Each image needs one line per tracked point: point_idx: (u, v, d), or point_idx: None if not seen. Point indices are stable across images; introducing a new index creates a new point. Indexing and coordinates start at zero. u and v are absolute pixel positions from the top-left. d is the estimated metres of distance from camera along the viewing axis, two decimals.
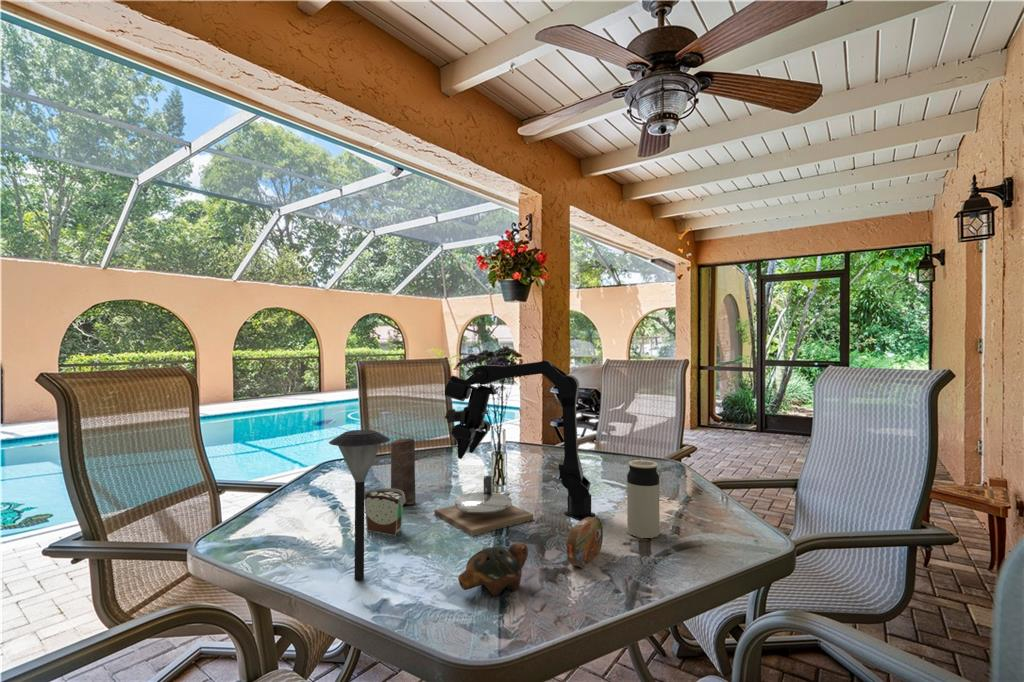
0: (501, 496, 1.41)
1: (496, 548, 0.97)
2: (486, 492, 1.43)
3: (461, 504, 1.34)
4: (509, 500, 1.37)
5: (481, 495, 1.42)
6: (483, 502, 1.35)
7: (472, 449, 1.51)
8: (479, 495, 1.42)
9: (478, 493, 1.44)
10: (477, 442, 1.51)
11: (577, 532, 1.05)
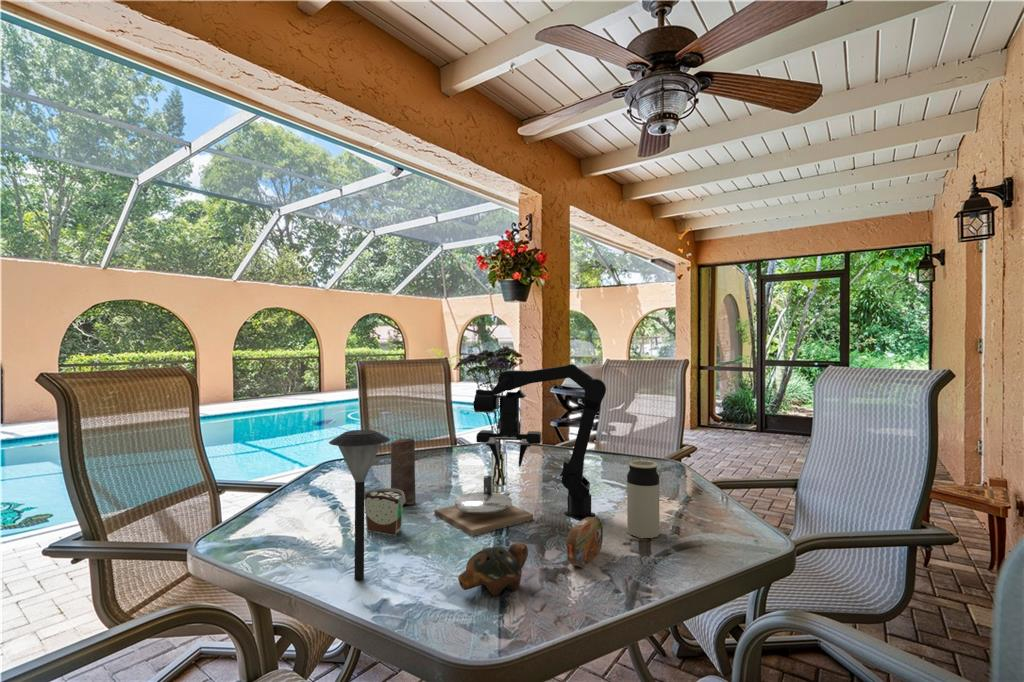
0: (501, 496, 1.41)
1: (496, 548, 0.97)
2: (486, 492, 1.43)
3: (461, 504, 1.34)
4: (509, 500, 1.37)
5: (481, 495, 1.42)
6: (483, 502, 1.35)
7: (519, 462, 1.42)
8: (479, 495, 1.42)
9: (478, 493, 1.44)
10: None
11: (577, 532, 1.05)
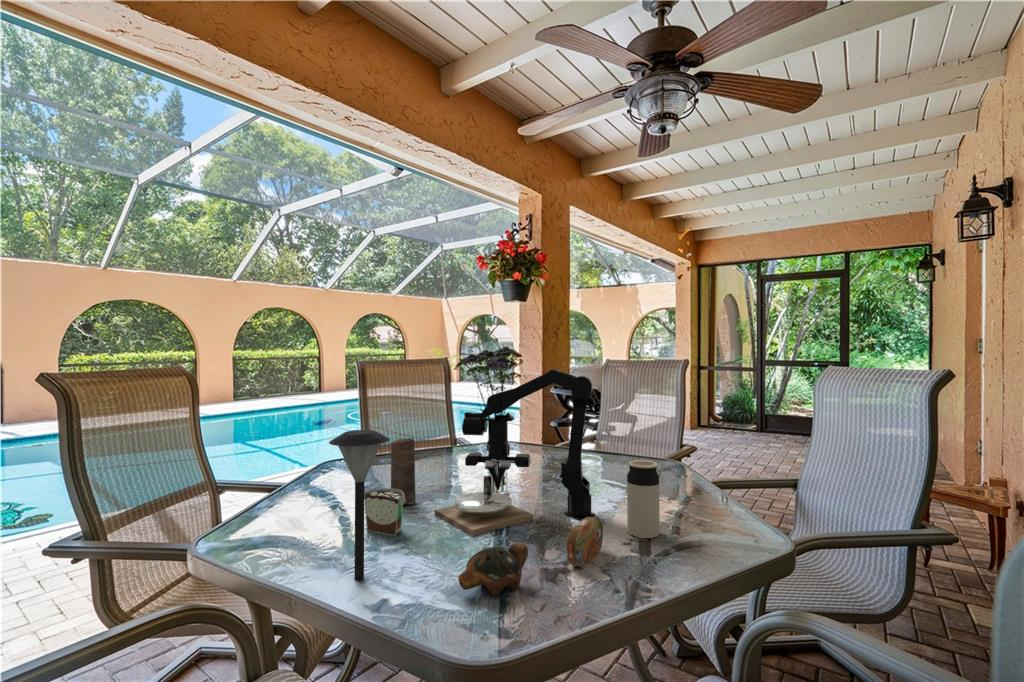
0: (501, 496, 1.41)
1: (496, 548, 0.97)
2: (486, 492, 1.43)
3: (461, 504, 1.34)
4: (509, 500, 1.37)
5: (481, 495, 1.42)
6: (483, 502, 1.35)
7: None
8: (479, 495, 1.42)
9: (478, 493, 1.44)
10: (498, 477, 1.42)
11: (577, 532, 1.05)
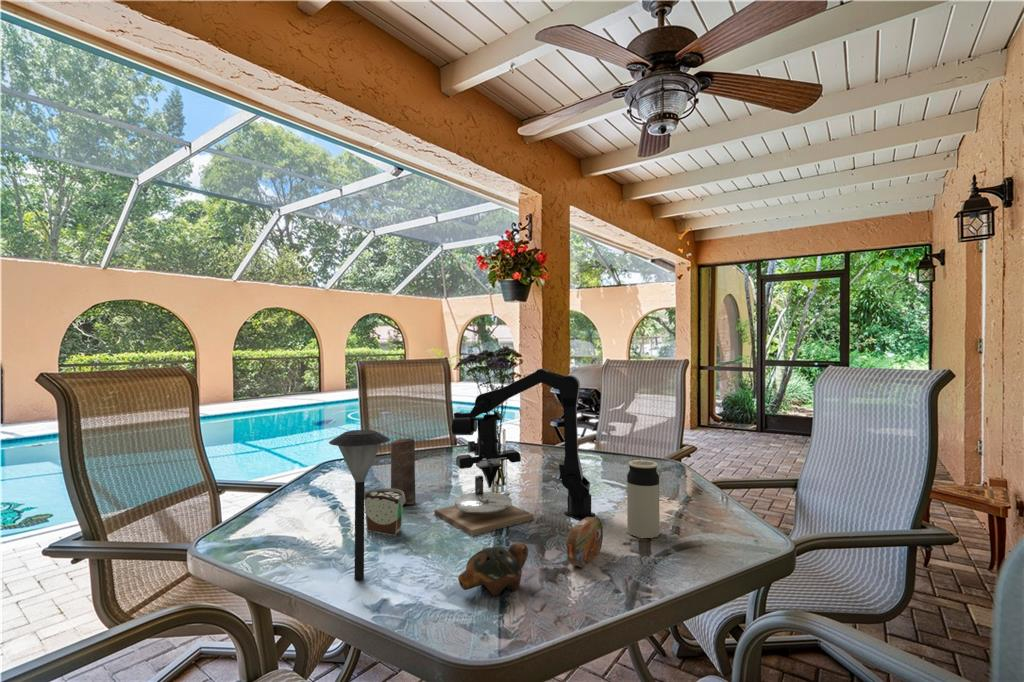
0: (495, 494, 1.43)
1: (496, 548, 0.97)
2: (479, 492, 1.43)
3: (467, 506, 1.32)
4: (508, 497, 1.40)
5: (475, 496, 1.41)
6: (486, 502, 1.36)
7: None
8: (473, 496, 1.41)
9: (470, 494, 1.43)
10: None
11: (577, 532, 1.05)
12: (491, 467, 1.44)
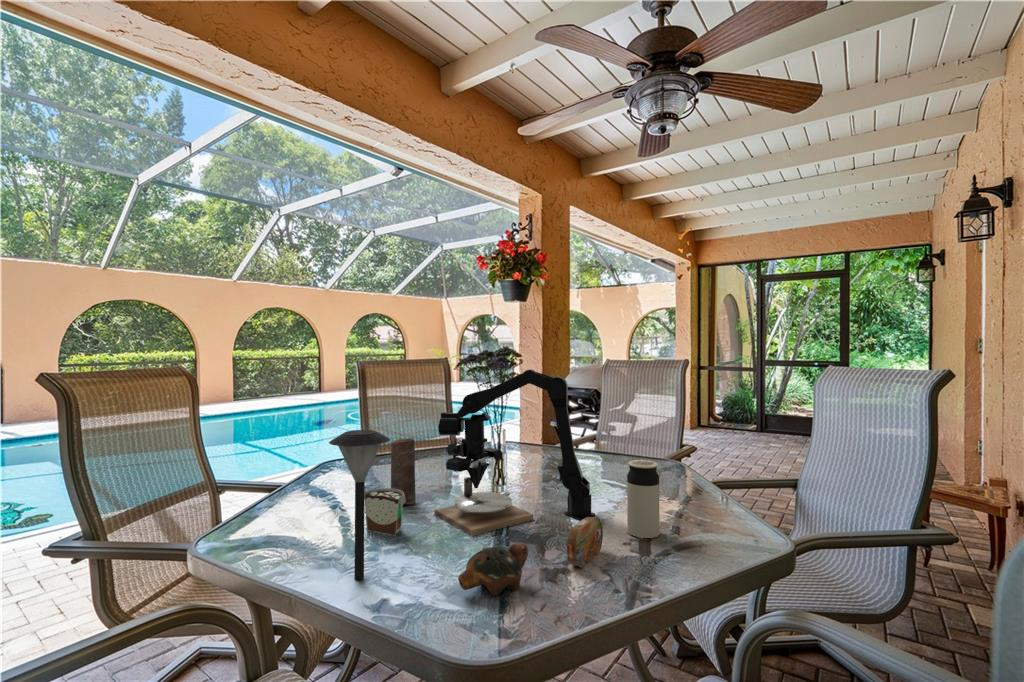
0: (484, 493, 1.44)
1: (496, 548, 0.97)
2: (470, 494, 1.41)
3: (479, 507, 1.31)
4: (500, 494, 1.43)
5: (469, 498, 1.39)
6: (489, 501, 1.36)
7: (476, 484, 1.44)
8: (467, 498, 1.39)
9: (461, 497, 1.40)
10: None
11: (577, 532, 1.05)
12: None
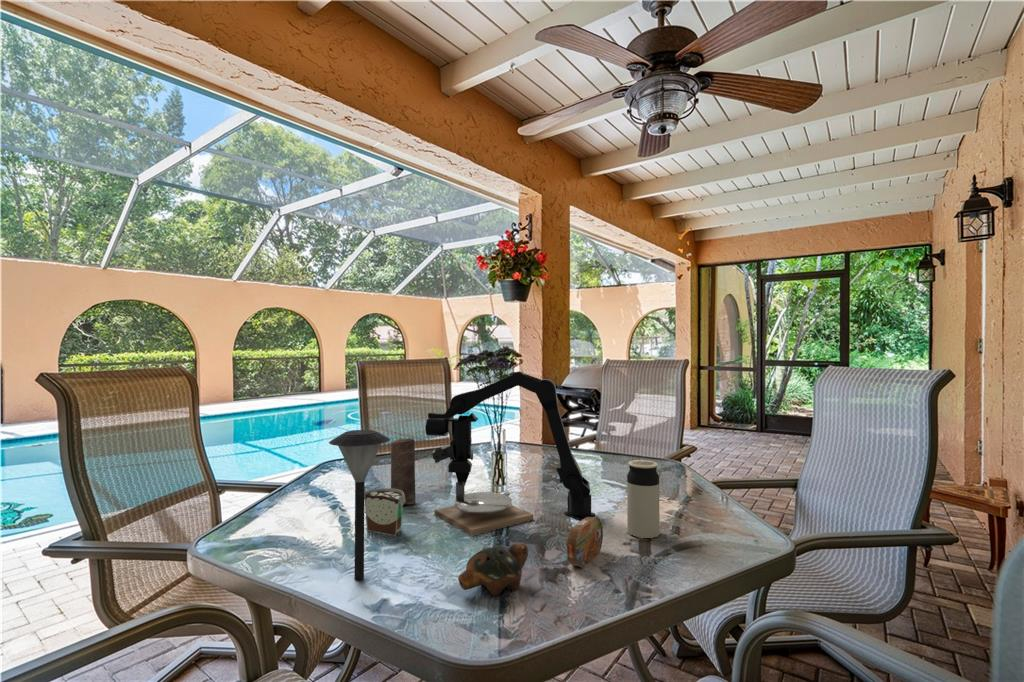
0: (468, 495, 1.42)
1: (496, 548, 0.97)
2: (464, 498, 1.37)
3: (498, 506, 1.32)
4: (481, 492, 1.45)
5: (468, 501, 1.36)
6: (490, 499, 1.38)
7: None
8: (467, 502, 1.35)
9: (460, 503, 1.35)
10: None
11: (577, 532, 1.05)
12: None
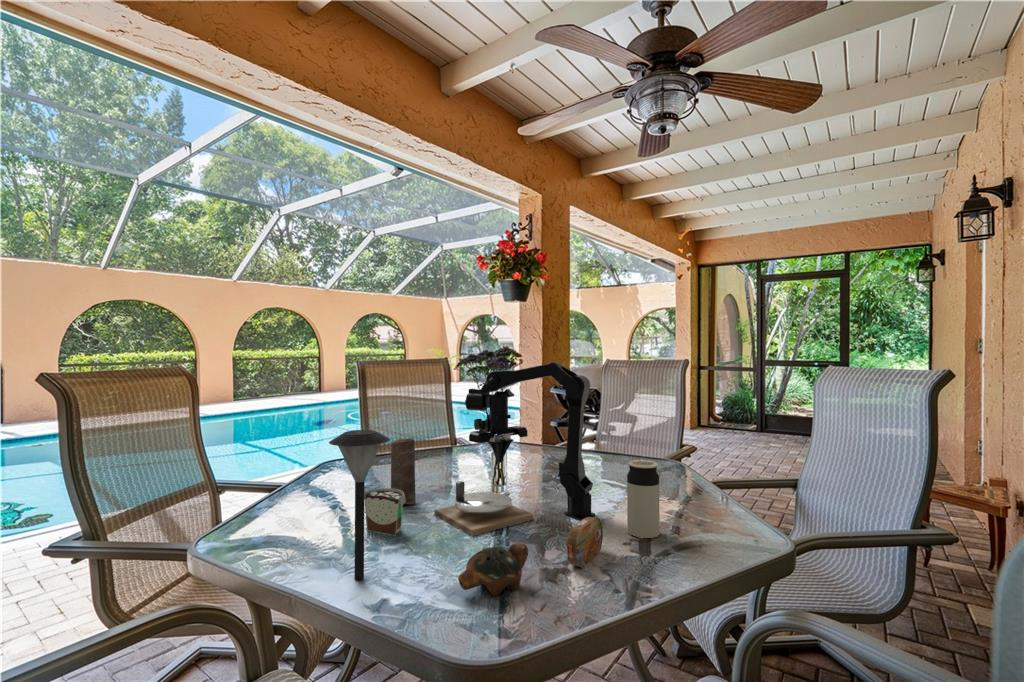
0: (468, 495, 1.42)
1: (496, 548, 0.97)
2: (464, 498, 1.37)
3: (498, 506, 1.32)
4: (481, 492, 1.45)
5: (468, 501, 1.36)
6: (490, 499, 1.38)
7: None
8: (467, 502, 1.35)
9: (460, 503, 1.35)
10: (502, 451, 1.49)
11: (577, 532, 1.05)
12: (503, 442, 1.49)
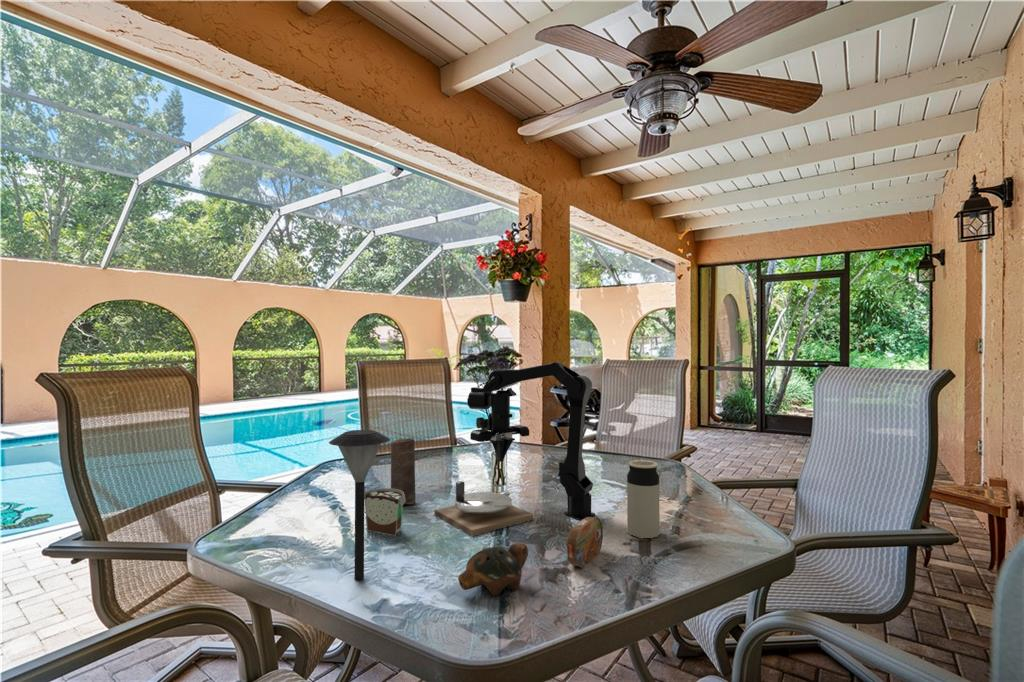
0: (468, 495, 1.42)
1: (496, 548, 0.97)
2: (464, 498, 1.37)
3: (498, 506, 1.32)
4: (481, 492, 1.45)
5: (468, 501, 1.36)
6: (490, 499, 1.38)
7: None
8: (467, 502, 1.35)
9: (460, 503, 1.35)
10: (503, 449, 1.49)
11: (577, 532, 1.05)
12: (505, 441, 1.49)
